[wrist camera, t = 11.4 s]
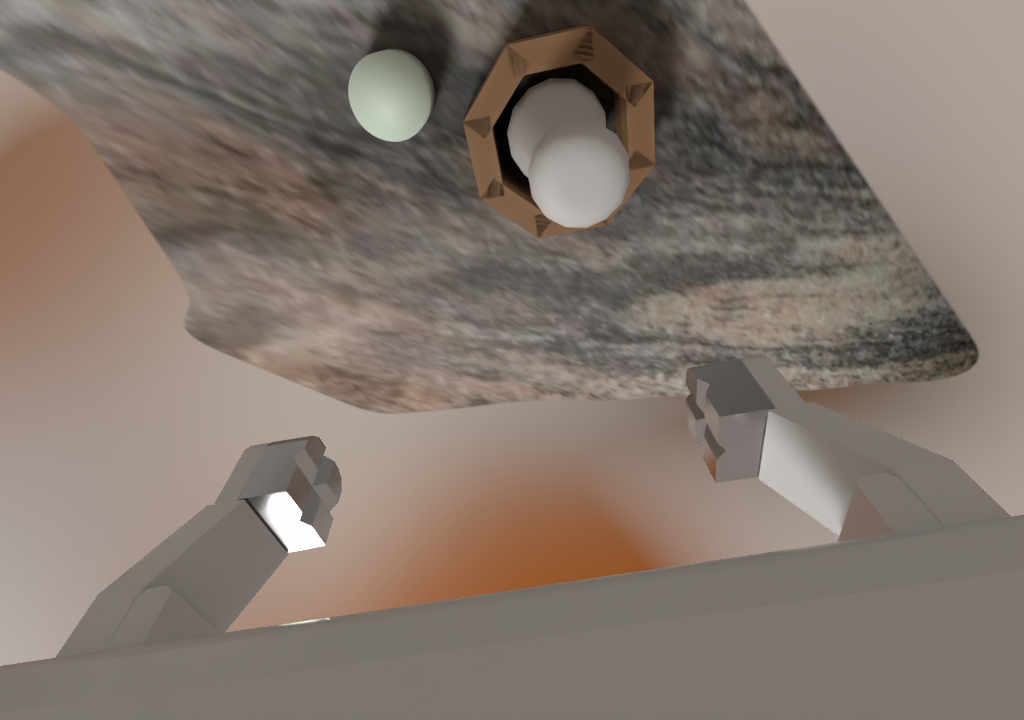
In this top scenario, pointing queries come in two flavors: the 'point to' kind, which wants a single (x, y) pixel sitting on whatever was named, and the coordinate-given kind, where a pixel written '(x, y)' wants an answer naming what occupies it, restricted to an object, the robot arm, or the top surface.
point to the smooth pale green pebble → (391, 94)
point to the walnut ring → (544, 55)
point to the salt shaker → (568, 153)
